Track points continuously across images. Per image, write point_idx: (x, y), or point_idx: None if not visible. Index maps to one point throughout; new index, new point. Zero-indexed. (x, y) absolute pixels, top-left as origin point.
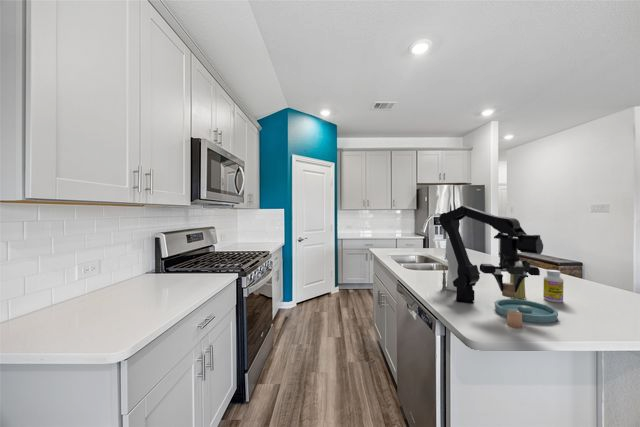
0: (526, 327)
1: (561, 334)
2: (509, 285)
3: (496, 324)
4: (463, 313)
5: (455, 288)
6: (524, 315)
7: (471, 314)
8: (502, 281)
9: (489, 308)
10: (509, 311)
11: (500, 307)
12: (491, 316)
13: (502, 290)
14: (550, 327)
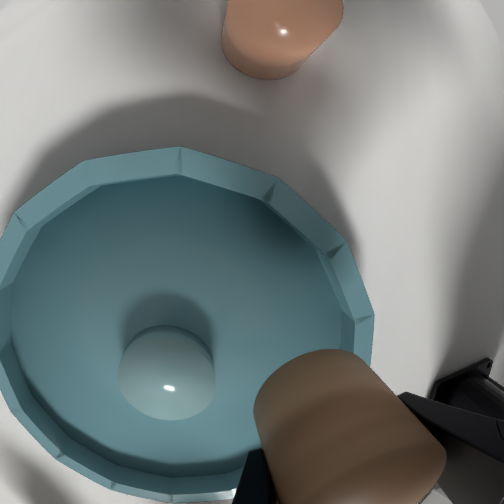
0: (194, 42)
1: (33, 38)
2: (390, 449)
3: (362, 36)
4: (493, 173)
5: (441, 494)
6: (185, 148)
7: (469, 171)
8: (494, 452)
9: (376, 347)
10: (326, 13)
11: (354, 270)
12: (387, 176)
13: (406, 399)
14: (49, 123)
